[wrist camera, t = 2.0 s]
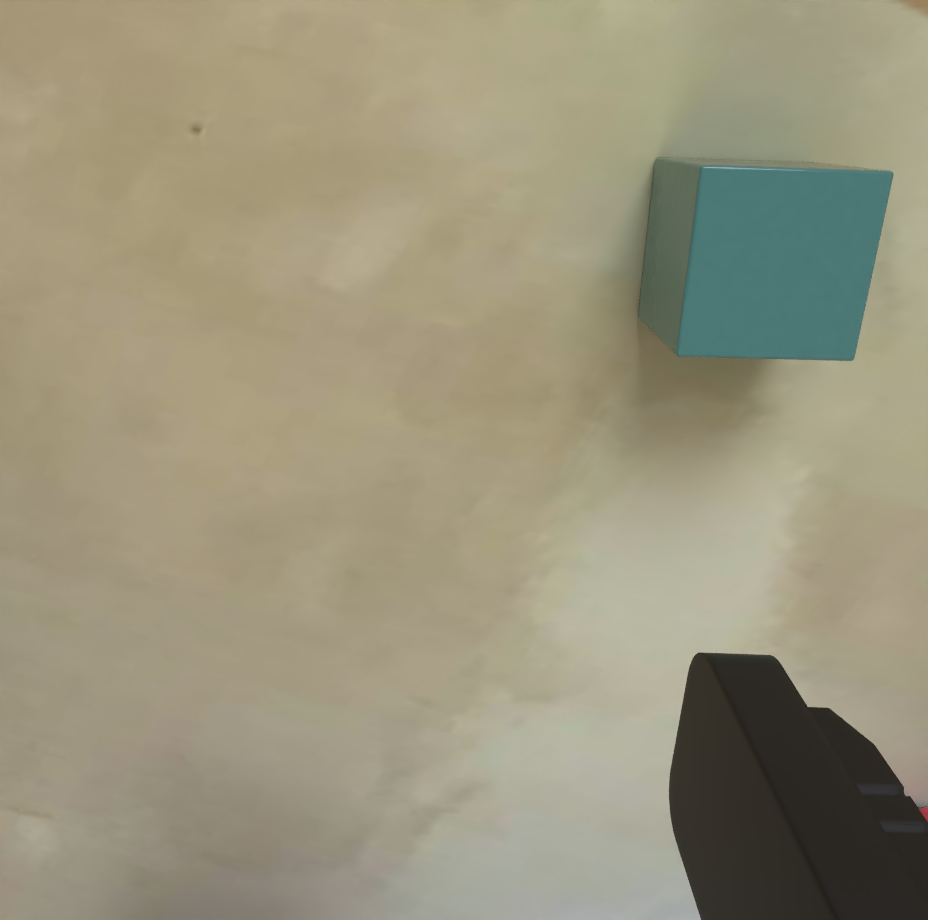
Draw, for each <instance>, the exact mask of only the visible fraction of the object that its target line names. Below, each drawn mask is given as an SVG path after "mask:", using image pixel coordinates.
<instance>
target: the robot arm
mask: <svg viewBox="0 0 928 920" xmlns="http://www.w3.org/2000/svg"><path fill="white" fill-rule="evenodd" d="M669 802H670V813H671V821H672V827H673V831H674V835H675V839H676V842H677V845H678V849H679V852H680V855H681V858H682V861H683V864H684V867H685V870H686V873H687V877H688V880H689V883H690V886H691V889H692V892H693V895H694V898H695V902H696V905H697V908H698V911H699V914H700V917H701V920H928V821H927V820H926V819H925V817H924V816H923V814H922V813H921V811H920V810H919V808H918V807H917V806H916V804H915V803H914V801H913V800H912V798H911V797H910V796H905V795H904V787H903V785H902V784H901V783H900V781H899V780H898V778H897V777H896V775H895V774H894V772H893V771H892V770H891V768H890V767H889V765H888V764H887V762H886V761H885V759H884V758H883V757H882V755H881V754H880V752H879V751H878V749H877V748H876V746H875V745H874V744H873V743H872V742H870V741H869V740H868V739H867V738H865V737H864V736H863V735H862V734H860V733H859V732H858V731H857V730H856V729H854V728H853V727H852V726H851V725H849V724H848V723H847V722H846V721H844V720H843V719H842V718H841V717H839V716H838V715H837V714H836V713H834V712H833V711H832V710H831V709H829V708H816V707H807V705H806V704H805V702H804V700H803V699H802V697H801V696H800V694H799V692H798V691H797V689H796V688H795V686H794V684H793V683H792V681H791V680H790V678H789V676H788V675H787V673H786V672H785V670H784V668H783V667H782V665H781V664H780V662H779V661H778V660H777V659H776V658H775V657H774V656H771V655H752V654H724V653H697V654H696V655H695V656H694V658H693V660H692V662H691V664H690V667H689V672H688V677H687V682H686V688H685V693H684V699H683V704H682V710H681V715H680V721H679V726H678V732H677V737H676V743H675V748H674V754H673V760H672V765H671V771H670V781H669Z"/></svg>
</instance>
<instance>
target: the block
mask: <svg viewBox="0 0 928 920" xmlns="http://www.w3.org/2000/svg"><path fill="white" fill-rule="evenodd" d="M892 179H893V172H891V171H886V170H878V169H869V168H860V167H851V166H842V165H833V164H824V163H815V162H790V161H760V160H730V159H700V158H670V157H658V158H656V160H655V167H654V176H653V185H652V194H651V203H650V212H649V221H648V230H647V239H646V248H645V257H644V266H643V275H642V284H641V293H640V302H639V311H638V317H639V318H640V319H641V320H642V321H643V322H644V323H645V324H646V325H647V326H648V327H649V328H650V329H651V330H652V331H653V332H654V333H655V334H656V335H657V336H658V337H659V338H660V339H661V340H662V342H663V343H664V344H665V345H666V346H667V347H668V348H669V349H670V350H671V351H672V352H673V353H674V354H675V355H676V356H679V357H715V358H754V359H794V360H833V361H852V360H854V358H855V353H856V348H857V343H858V339H859V334H860V329H861V325H862V320H863V315H864V311H865V306H866V301H867V296H868V292H869V287H870V282H871V278H872V273H873V268H874V263H875V259H876V254H877V249H878V245H879V240H880V235H881V231H882V226H883V221H884V216H885V212H886V207H887V202H888V198H889V193H890V188H891V184H892Z"/></svg>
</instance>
